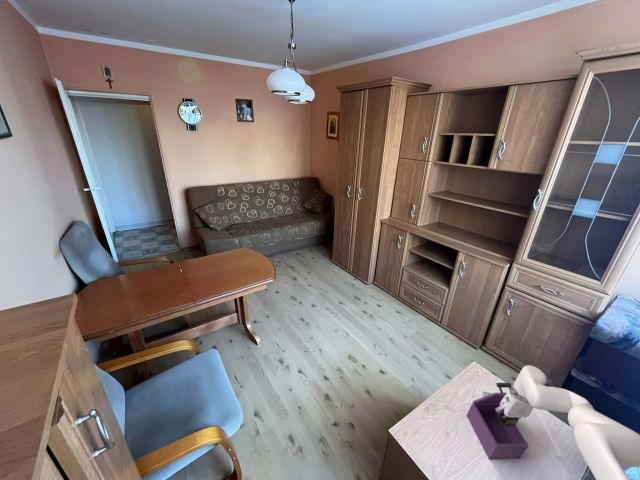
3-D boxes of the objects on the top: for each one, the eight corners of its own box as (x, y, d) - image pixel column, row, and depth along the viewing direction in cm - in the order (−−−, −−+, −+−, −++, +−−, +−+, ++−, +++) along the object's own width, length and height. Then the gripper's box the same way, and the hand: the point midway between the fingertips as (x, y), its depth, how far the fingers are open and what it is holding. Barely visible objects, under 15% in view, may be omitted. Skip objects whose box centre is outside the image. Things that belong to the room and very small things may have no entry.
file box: (519, 458, 112) (529, 445, 108) (488, 459, 111) (496, 446, 107) (493, 415, 128) (500, 402, 124) (466, 415, 127) (472, 402, 123)
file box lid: (527, 394, 109) (521, 381, 112) (495, 394, 108) (490, 381, 112) (501, 403, 123) (496, 391, 126) (473, 403, 123) (469, 391, 126)
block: (514, 426, 109) (518, 420, 108) (504, 426, 109) (508, 420, 107) (507, 415, 113) (511, 409, 111) (497, 415, 113) (501, 409, 111)
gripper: (508, 402, 99) (492, 430, 107) (551, 402, 100) (532, 430, 108) (496, 384, 106) (481, 411, 114) (536, 384, 107) (519, 411, 115)
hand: (506, 420), depth 111 cm, fingers closed on block, 4 cm apart
